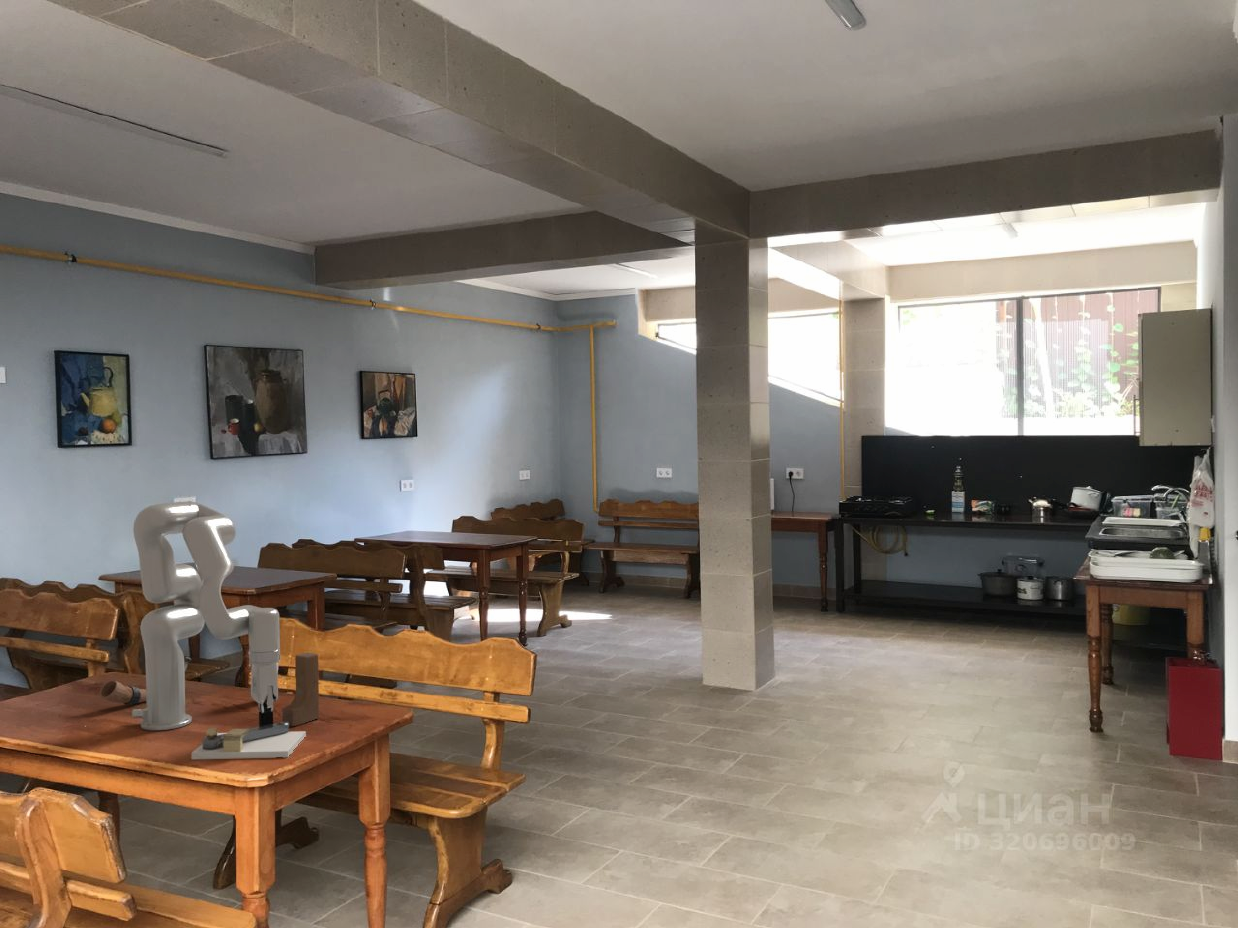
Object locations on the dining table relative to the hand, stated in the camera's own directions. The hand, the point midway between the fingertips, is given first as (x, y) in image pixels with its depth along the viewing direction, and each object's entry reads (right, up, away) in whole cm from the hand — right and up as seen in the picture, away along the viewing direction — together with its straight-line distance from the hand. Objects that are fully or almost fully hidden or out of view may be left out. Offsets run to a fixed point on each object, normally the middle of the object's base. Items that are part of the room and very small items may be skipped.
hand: (266, 726), depth 258 cm
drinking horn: (-47, -2, +35) cm, 59 cm away
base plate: (-1, -3, -10) cm, 10 cm away
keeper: (-5, -2, -14) cm, 15 cm away
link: (-2, -1, -8) cm, 8 cm away
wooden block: (+5, -2, +13) cm, 14 cm away
